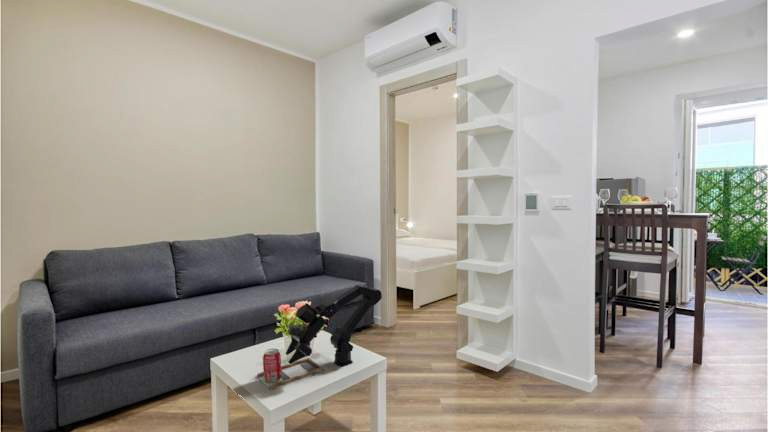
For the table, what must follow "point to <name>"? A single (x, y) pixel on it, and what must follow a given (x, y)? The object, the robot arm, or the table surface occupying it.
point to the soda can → (272, 365)
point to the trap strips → (305, 365)
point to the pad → (269, 382)
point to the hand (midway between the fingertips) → (287, 358)
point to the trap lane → (296, 376)
